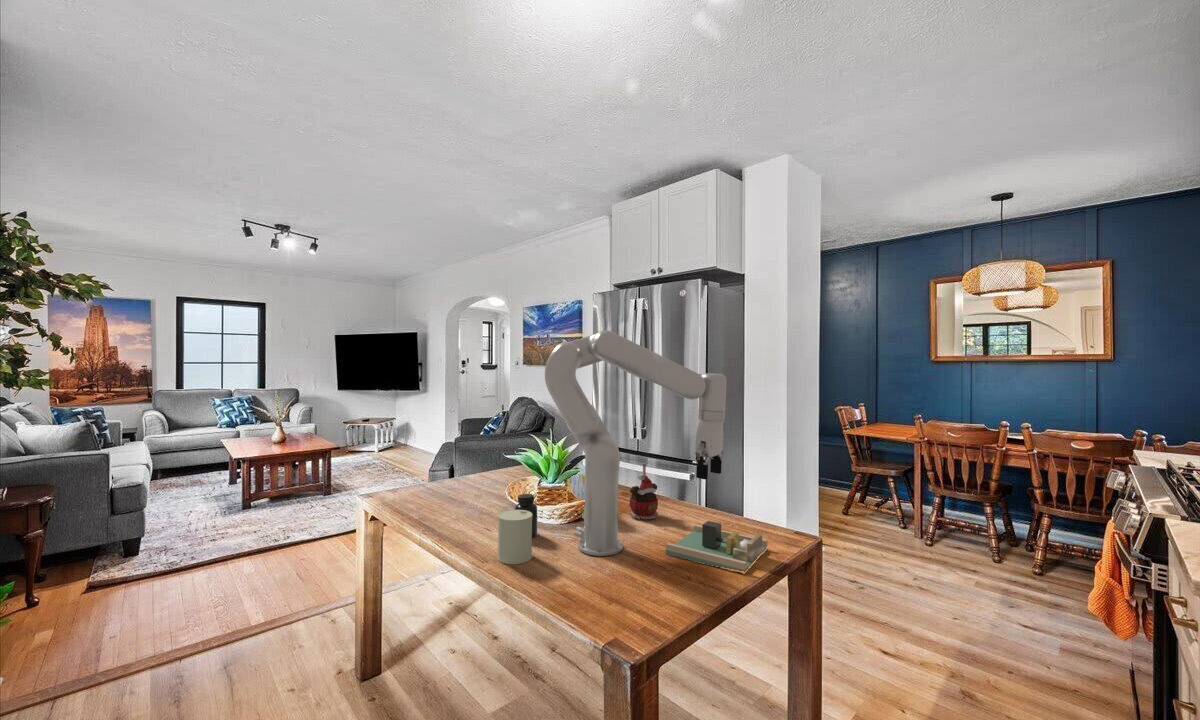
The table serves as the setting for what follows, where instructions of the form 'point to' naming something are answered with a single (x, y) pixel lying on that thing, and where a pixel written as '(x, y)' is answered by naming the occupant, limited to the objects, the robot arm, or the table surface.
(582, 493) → the snack box
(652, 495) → the santa hat candy apple
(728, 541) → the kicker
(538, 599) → the table surface
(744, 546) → the ball
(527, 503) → the supplement bottle
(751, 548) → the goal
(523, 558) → the can
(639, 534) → the table surface
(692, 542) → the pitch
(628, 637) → the table surface
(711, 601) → the table surface
